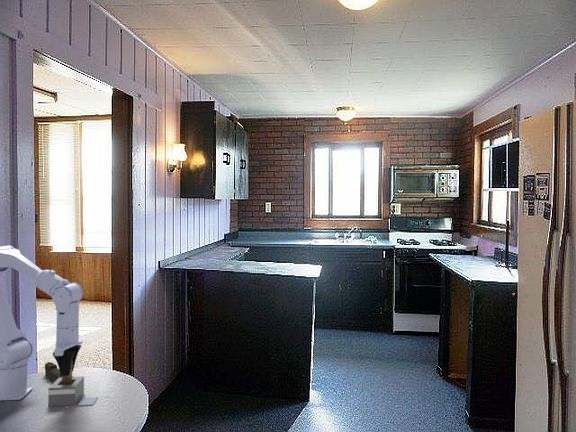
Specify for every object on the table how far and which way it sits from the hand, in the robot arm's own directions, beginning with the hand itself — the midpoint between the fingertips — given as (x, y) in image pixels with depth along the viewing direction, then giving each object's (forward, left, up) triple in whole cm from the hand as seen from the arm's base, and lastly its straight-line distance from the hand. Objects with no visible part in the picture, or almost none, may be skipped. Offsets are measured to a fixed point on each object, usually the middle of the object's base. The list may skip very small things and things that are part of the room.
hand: (67, 373), depth 126 cm
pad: (+6, -2, -8) cm, 10 cm away
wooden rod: (0, 0, -3) cm, 3 cm away
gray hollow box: (0, 0, -8) cm, 8 cm away
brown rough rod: (-8, +15, -8) cm, 18 cm away
